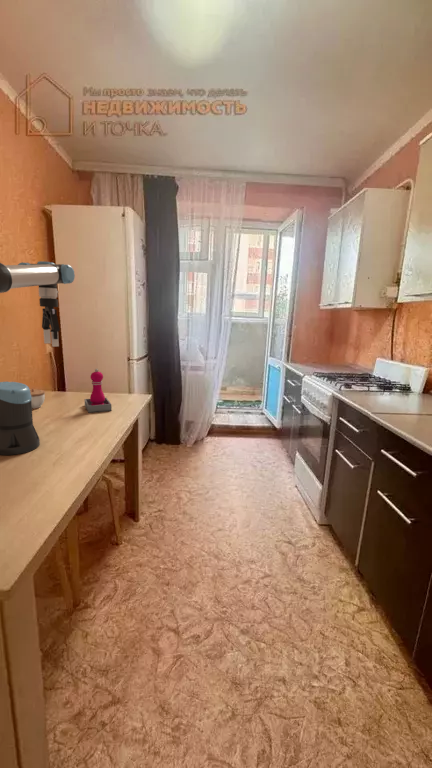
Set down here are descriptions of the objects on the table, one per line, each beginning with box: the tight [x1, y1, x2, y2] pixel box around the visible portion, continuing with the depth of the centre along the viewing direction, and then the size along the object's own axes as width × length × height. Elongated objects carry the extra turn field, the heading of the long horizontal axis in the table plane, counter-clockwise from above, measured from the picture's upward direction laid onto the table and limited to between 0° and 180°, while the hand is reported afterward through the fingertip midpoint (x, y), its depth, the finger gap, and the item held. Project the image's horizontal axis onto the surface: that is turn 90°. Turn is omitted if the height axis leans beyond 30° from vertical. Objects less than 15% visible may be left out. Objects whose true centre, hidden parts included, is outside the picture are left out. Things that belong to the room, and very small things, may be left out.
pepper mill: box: [89, 368, 106, 406], centre depth 174 cm, size 7×7×20 cm
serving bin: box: [84, 397, 113, 414], centre depth 176 cm, size 14×11×4 cm
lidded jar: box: [30, 388, 46, 410], centre depth 173 cm, size 11×11×9 cm
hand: (51, 344), depth 160 cm, fingers open, 13 cm apart
